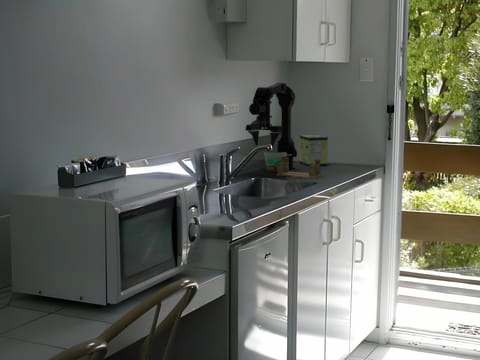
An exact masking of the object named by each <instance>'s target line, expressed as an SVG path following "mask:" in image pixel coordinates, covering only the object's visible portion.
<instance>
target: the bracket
mask: <svg viewBox="0 0 480 360" xmlns="http://www.w3.org/2000/svg"><path fill="white" fill-rule="evenodd" d="M275 175H276V177H283V176H291V177H290V178H297V177H302V178H301V179H310V178H313V179H316V178H319V177H321V176H322V173H321V166H320V159H315V164H313V165H310V166H309V167H308V172H301V171H299V172H298V171H290V169H289V158H287V157H285V158H284V162H282V163H278V164H277V173H276V174H275Z"/></svg>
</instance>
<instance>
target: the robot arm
mask: <svg viewBox="0 0 480 360" xmlns="http://www.w3.org/2000/svg"><path fill="white" fill-rule="evenodd" d="M274 95H275V97H276V98H277V100H278V105H279V107H280V109H281V125H276V124H275V125H273V124H272V123H271V119H272V118H273V117H272V115H271V105H272V100H271V99H273V97H274ZM295 99H296V94H295V91H294V90H293V89H292V88H290V87H289V86H287V84H286V83H285V82H277V83H275V84H272V85H270V86H266V87H259V86H258V87H257V88H256V90H255V93H254V96H253V99H252V103H251V104H250V105H249V108H248V110H249V113H250V114H251V115H252V116H256V119H255V120H253V121H251V123H250V124H246V125H245V131H247V132H248V133H249V134H250V135H251V136H252V139H253V141H254V145H255V146H258V144H259V136H260V131H270V132H269V135H270V146H272V147H274V146H275V143H276V141H277V153H283V152H286V153H287V156H286V157H287V158H289V170H293V169H296V166H294V158H297V156H298V151H297V149H296V146H295V141H294V140H293V138H292V108H293V107H294V105H295V101H296V100H295ZM280 134H281V137H280V138H279V139H278V137H279V135H280ZM277 139H278V140H277ZM272 147H271V148H272Z"/></svg>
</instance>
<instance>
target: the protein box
mask: <svg viewBox="0 0 480 360" xmlns="http://www.w3.org/2000/svg"><path fill="white" fill-rule="evenodd" d="M328 138H329V137H328V136H323V135H319V134H306V135H305V134H301V135H299V164H300V165H304V166H306V167H308V168H309V166H310V165H313V164H315V159H320V167H328V150H329V149H328V143H329V141H328Z"/></svg>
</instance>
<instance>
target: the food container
mask: <svg viewBox="0 0 480 360" xmlns="http://www.w3.org/2000/svg"><path fill="white" fill-rule="evenodd" d="M287 155H288V154H287V153H286V152H283V153H278V152H267V150H266V151H265V150H264V153H263V157H264V159H265V172H267V173H272V174H273V173H274V172H277V164H278V163H282V162H284V158H285V157H286V156H287Z"/></svg>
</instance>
